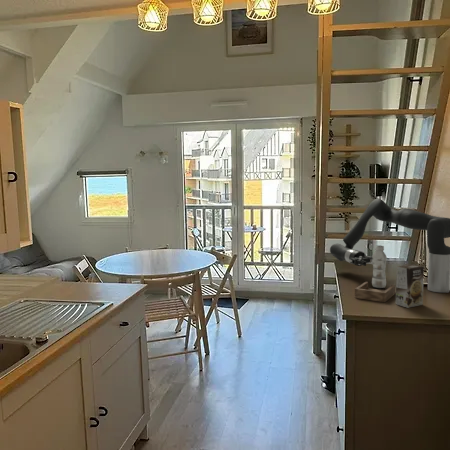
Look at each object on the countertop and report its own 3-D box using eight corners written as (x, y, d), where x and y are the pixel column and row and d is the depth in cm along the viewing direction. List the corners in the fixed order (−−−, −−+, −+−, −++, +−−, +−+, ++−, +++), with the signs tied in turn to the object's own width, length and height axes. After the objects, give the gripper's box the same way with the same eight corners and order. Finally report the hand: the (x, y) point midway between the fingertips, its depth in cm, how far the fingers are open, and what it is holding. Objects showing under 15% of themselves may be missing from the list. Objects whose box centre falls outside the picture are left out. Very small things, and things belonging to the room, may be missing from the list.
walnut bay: (394, 294, 194) (395, 285, 193) (385, 302, 182) (385, 293, 181) (365, 290, 201) (365, 281, 201) (354, 297, 189) (354, 288, 189)
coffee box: (408, 308, 173) (409, 268, 171) (395, 304, 179) (396, 265, 177) (423, 304, 177) (424, 266, 176) (410, 301, 183) (411, 263, 181)
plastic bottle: (378, 290, 200) (379, 247, 198) (368, 287, 207) (369, 245, 204) (389, 288, 203) (390, 246, 201) (378, 285, 209) (379, 244, 207)
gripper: (342, 250, 221) (360, 256, 206) (367, 249, 225) (386, 254, 209) (342, 265, 222) (360, 271, 207) (367, 263, 226) (386, 269, 210)
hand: (373, 263), depth 208 cm, fingers open, 8 cm apart
